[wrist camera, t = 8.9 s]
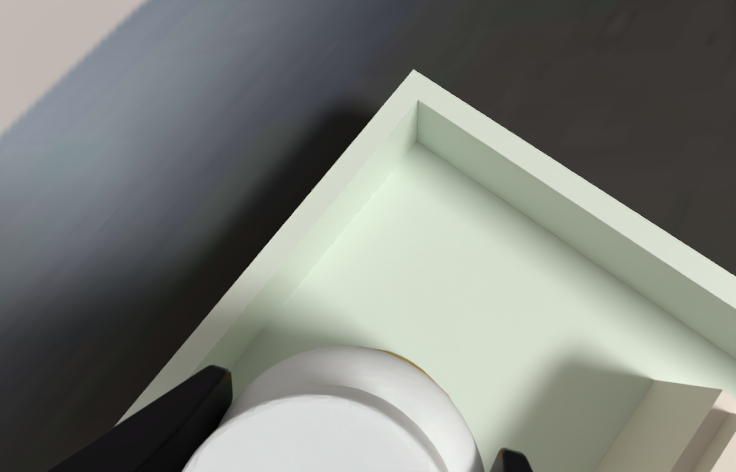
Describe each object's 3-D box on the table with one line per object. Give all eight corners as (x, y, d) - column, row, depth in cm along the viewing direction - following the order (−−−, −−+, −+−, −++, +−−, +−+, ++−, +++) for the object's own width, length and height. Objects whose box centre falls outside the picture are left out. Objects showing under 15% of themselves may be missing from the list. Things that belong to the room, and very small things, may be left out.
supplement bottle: (464, 521, 14) (570, 859, 5) (292, 529, 14) (77, 856, 5) (445, 341, 15) (498, 329, 6) (288, 352, 16) (110, 357, 6)
